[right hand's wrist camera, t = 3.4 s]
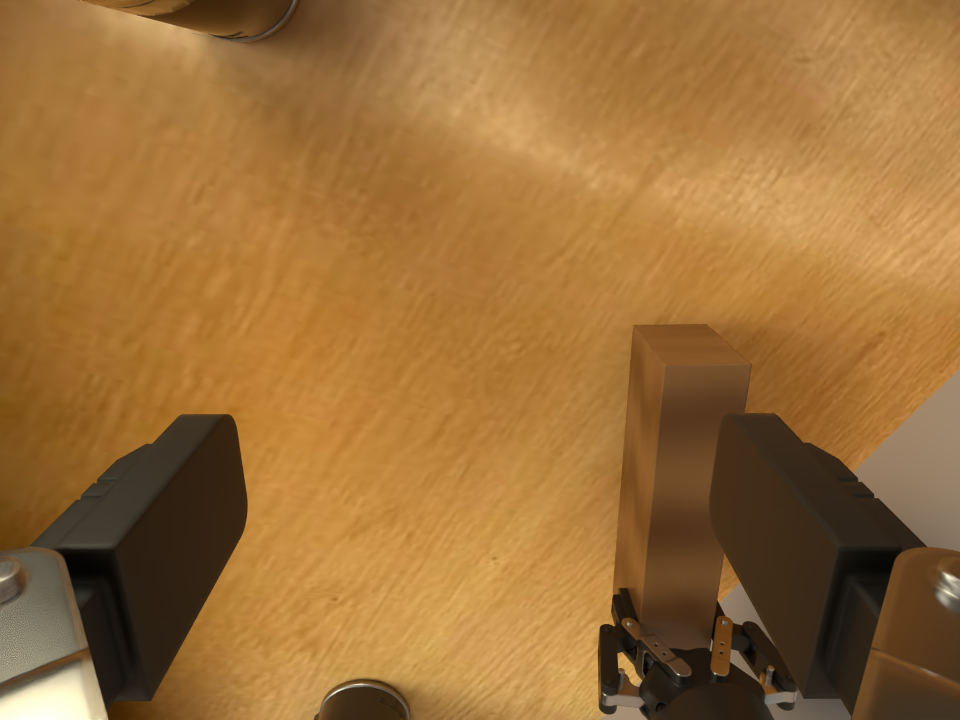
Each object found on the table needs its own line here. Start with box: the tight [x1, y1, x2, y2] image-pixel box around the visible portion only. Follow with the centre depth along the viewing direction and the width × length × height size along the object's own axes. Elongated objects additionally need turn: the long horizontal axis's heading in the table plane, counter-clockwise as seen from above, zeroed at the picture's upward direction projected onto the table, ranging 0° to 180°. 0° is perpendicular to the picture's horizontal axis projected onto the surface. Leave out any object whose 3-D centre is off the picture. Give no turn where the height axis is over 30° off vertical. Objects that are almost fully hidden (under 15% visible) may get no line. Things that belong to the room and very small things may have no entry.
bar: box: [613, 324, 751, 651], centre depth 51 cm, size 25×6×9 cm, turn 0°
